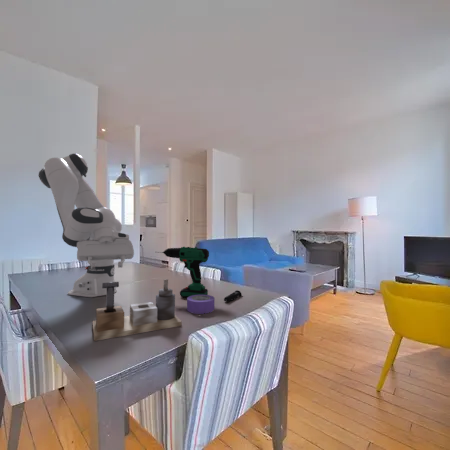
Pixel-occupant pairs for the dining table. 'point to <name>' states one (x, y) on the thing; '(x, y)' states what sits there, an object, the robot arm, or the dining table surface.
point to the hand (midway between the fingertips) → (107, 267)
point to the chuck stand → (137, 317)
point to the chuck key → (110, 295)
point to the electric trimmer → (232, 296)
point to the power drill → (190, 267)
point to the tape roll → (200, 304)
